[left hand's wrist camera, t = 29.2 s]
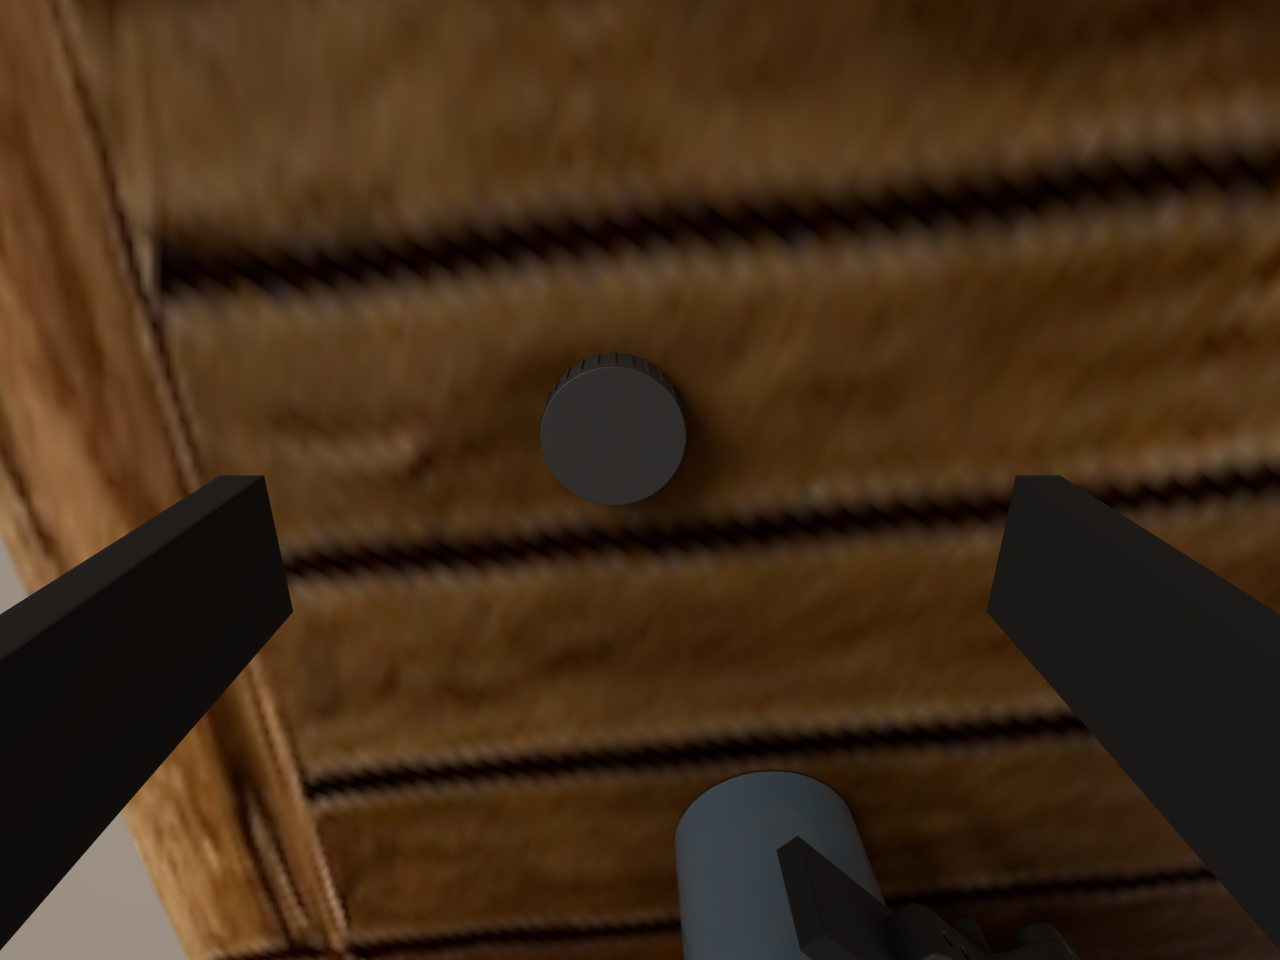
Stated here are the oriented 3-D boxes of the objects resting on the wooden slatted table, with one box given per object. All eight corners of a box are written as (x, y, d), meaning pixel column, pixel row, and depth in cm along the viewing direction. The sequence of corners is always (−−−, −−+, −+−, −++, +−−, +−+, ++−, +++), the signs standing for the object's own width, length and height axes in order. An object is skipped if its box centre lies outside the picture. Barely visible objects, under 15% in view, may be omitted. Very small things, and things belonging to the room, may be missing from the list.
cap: (582, 325, 19) (578, 336, 17) (708, 390, 19) (716, 407, 18) (523, 447, 20) (513, 469, 18) (643, 503, 21) (645, 530, 19)
